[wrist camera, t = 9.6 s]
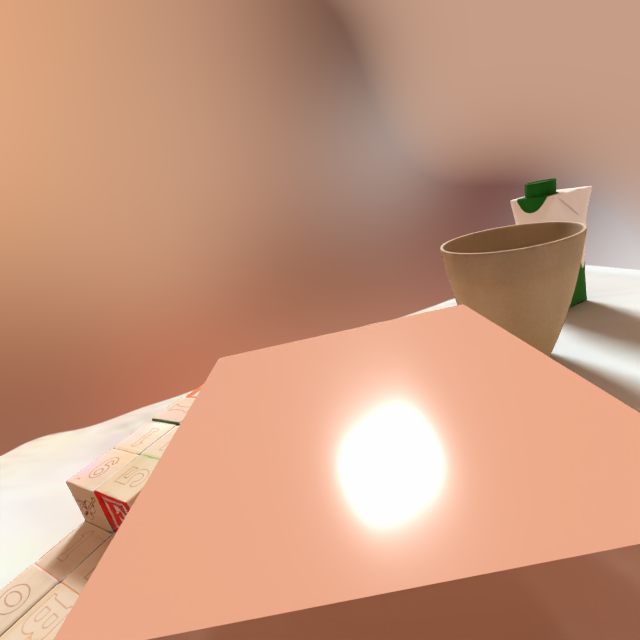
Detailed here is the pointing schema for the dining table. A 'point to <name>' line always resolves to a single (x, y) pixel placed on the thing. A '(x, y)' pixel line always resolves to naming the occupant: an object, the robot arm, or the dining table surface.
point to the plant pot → (519, 276)
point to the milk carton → (555, 214)
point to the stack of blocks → (87, 529)
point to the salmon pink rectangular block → (383, 498)
